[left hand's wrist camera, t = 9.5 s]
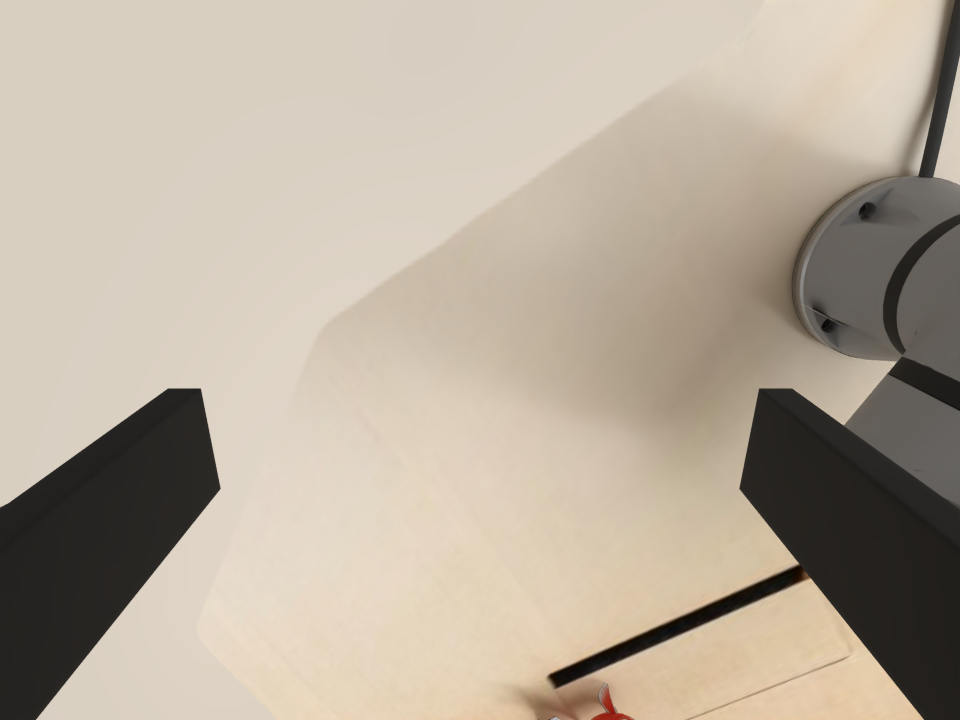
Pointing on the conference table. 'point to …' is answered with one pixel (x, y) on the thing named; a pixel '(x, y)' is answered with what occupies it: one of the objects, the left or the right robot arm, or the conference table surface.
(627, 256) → the conference table surface
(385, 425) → the conference table surface
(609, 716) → the fish
